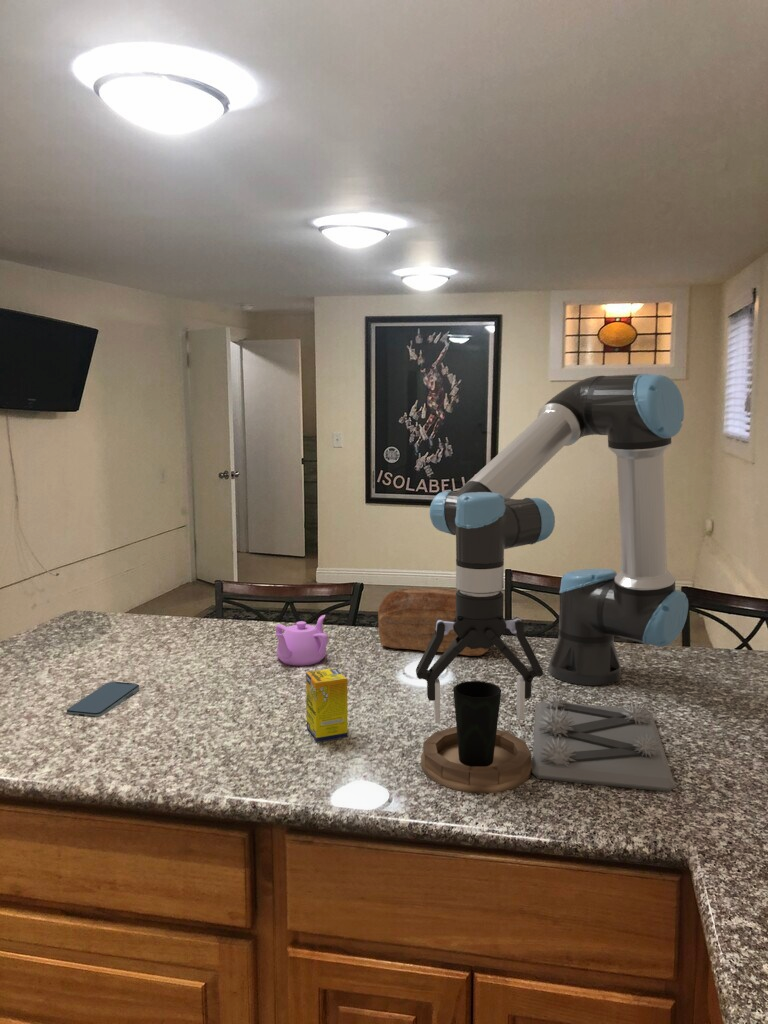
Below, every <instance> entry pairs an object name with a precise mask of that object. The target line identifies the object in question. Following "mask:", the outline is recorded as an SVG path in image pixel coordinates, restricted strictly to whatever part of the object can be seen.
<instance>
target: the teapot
mask: <svg viewBox="0 0 768 1024" xmlns="http://www.w3.org/2000/svg"><path fill="white" fill-rule="evenodd" d="M325 617H326V614H323V615H320V616H319V617H318V620H317V622H316V625H315V626H314V625H313V624H307V622H306V621H303V620H301V621H296V624H293V625H290V626H288V627H287V626H285V625H284V624H281V623H280V624H279V623H277V624H276V625H275V634H274V635H275V636H276V637H277V639H278V641H277V642H278V643H277V647H276V656H277V658H278V659H279V660H280V662H282V663H283V664H285V665H289V666H296V667H298V666H299V667H300V666H302V667H303V666H313V665H315V664H318V663H320V662H321V661H322V660H323V659H324V658H325V656H326V655H327V645H328V641H329V635H328V634H327V633H324V626H323V623H324V619H325ZM283 631H284V632H283Z"/></svg>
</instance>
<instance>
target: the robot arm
mask: <svg viewBox="0 0 768 1024" xmlns="http://www.w3.org/2000/svg"><path fill="white" fill-rule="evenodd" d="M684 416H685V406H684V400H683V396H682V394H681V391H680V389H679V387H678V385H677V384H676V383H675V382H674V381H673V379H671V378H670V377H669V376H666V375H662V374H650V373H636V374H617V375H616V374H615V375H594V376H589V377H587V378H584V379H581V380H579V381H576V382H574V383H573V384H571V385H570V386H568V387H566V388H565V389H563V390H561V391H560V392H559V393H557V394H556V395H554V396H553V397H552V398H551V399H549V400H548V401H547V402H546V403H545V404H544V405H543V406H541V408H539V410H538V413H537V417H536V419H535V420H534V421H532V422H531V423H530V424H529V425H528V426H527V427H526V428H525V429H524V430H522V432H521V433H520V434H518V435H517V436H516V437H515V438H514V439H513V440H512V441H511V442H509V443H508V444H507V445H506V447H504V448H503V449H502V450H501V451H500V452H499V453H497V455H495V457H493V458H492V459H491V460H489V462H488V463H487V464H485V466H484V467H482V468H481V469H480V470H479V471H478V472H477V473H476V474H475V475H474V476H473V477H471V478H470V479H469V480H468V481H467V482H465V484H464V485H463V486H461V487H460V488H459V489H458V490H457V491H454V490H448V491H442V492H439V493H438V494H435V496H434V497H433V500H432V501H431V503H430V507H429V518H430V521H431V523H432V525H433V527H434V528H435V529H436V530H437V531H440V532H442V533H445V534H449V535H452V536H455V553H456V554H455V555H456V556H455V588H456V589H457V590H456V591H457V592H456V617H455V620H454V622H449V621H443V620H442V619H437V620H436V627H435V633H434V635H433V636H432V638H431V640H430V642H429V644H428V646H427V648H426V650H425V651H423V652H424V653H423V654H422V656H421V658H420V660H419V661H418V664H417V666H416V669H415V674H416V677H417V679H419V680H425V681H426V696H427V700H428V701H429V702H430V701H433V717H434V721H435V723H440V722H441V682H440V679H439V677H440V676H441V675H442V674H443V672H444V671H445V670H446V669H447V668H448V666H449V665H450V664H451V663H452V662H453V661H454V659H455V658H456V657H458V655H460V654H459V653H460V652H462V651H463V650H464V648H465V647H466V646H467V647H468V648H470V649H477V648H484V649H489V650H490V649H491V648H492V647H494V646H495V647H496V649H497V650H498V651H499V652H501V653H502V654H503V656H504V657H505V658H506V659H507V661H509V663H510V664H511V665H512V666H513V667H514V668H515V670H517V672H518V673H519V674H520V675H516V715H517V718H518V720H519V721H525V712H526V711H525V709H526V706H525V705H526V704H525V702H526V700H525V699H531V696H532V682H533V681H534V678H537V677H542V676H544V670H543V669H542V667H541V664H540V663H539V661H538V658H537V657H536V655H535V652H534V651H533V649H532V647H531V645H530V642H529V641H528V638H527V637H526V635H525V627H524V622H523V621H522V619H521V618H520V617H518V616H515V617H514V618H513V619H510V620H505V619H504V593H503V591H502V590H503V589H504V587H505V586H504V583H505V582H504V579H505V578H504V577H505V576H504V570H505V569H504V565H505V564H504V563H505V562H504V560H505V550H507V549H512V548H517V547H524V546H527V545H535V544H536V543H539V542H542V541H545V540H547V539H548V538H549V537H550V536H551V535H552V533H553V532H554V529H555V523H556V520H555V519H556V517H555V513H554V510H553V508H552V506H551V505H550V504H549V503H548V502H547V501H546V500H545V499H542V498H539V497H531V498H530V497H524V498H519V499H517V498H516V499H515V498H512V497H513V496H514V495H516V493H518V491H519V490H520V489H522V488H523V487H524V485H525V484H527V483H528V482H529V481H530V480H531V479H532V478H533V477H535V475H536V474H537V473H538V472H539V471H540V470H541V469H542V468H543V467H544V466H545V465H546V464H547V463H549V462H550V460H552V459H553V457H555V456H556V454H558V453H559V452H560V451H561V450H562V449H563V448H564V447H568V446H572V445H574V444H575V443H576V442H577V441H578V440H579V439H581V438H583V437H584V438H585V437H587V436H594V435H595V436H596V435H599V436H607V447H608V449H609V450H610V451H611V452H613V453H614V454H615V456H616V470H617V473H616V474H617V493H618V495H617V496H618V513H619V514H618V515H619V516H618V517H619V519H618V520H619V536H620V539H619V540H620V559H621V561H620V562H621V563H620V564H621V570H620V571H619V572H618V573H617V571H616V570H613V569H609V568H585V569H577V570H576V569H575V570H571V571H567V572H566V573H564V574H563V575H562V576H561V581H560V588H559V592H558V593H559V616H558V618H559V619H558V638H557V640H556V645H555V647H554V648H553V652H552V654H551V657H550V659H549V670H548V671H549V674H551V676H552V677H554V678H555V679H558V680H560V681H563V682H566V683H571V684H575V685H581V686H606V685H607V686H608V685H611V684H615V683H617V682H618V681H619V680H620V679H621V675H622V674H621V673H622V672H621V671H622V667H621V662H620V660H619V657H618V656H619V655H618V652H617V649H616V645H615V642H614V641H615V637H618V638H622V639H626V640H629V641H634V642H638V643H642V644H644V645H648V646H649V645H652V646H656V647H666V646H669V645H672V644H673V642H675V641H676V639H678V637H679V636H680V634H681V632H682V631H683V629H684V627H685V623H686V621H687V618H688V617H687V616H688V612H689V599H688V597H687V595H686V593H684V592H683V591H682V590H679V589H677V590H676V578H675V575H674V574H673V573H671V572H670V571H669V570H668V567H667V536H666V534H667V529H666V526H667V525H666V498H665V496H666V494H665V493H666V492H665V466H664V465H665V464H664V459H665V458H664V453H665V452H666V450H668V448H669V447H671V445H672V438H673V437H675V436H677V435H678V434H679V432H680V431H681V428H682V426H683V423H682V422H683V421H684V418H685V417H684ZM452 629H453V630H454V631H455V633H456V634H457V635H458V636H457V637H456V638H455V639H454V640H453V642H452V644H451V645H450V646H449V647H448V649H447V650H446V651H445V652H442V654H441V655H440V657H438V659H437V660H436V661H435V662H434V664H433V665H432V666H431V664H432V662H433V659H435V658H434V657H435V656H436V654H437V653H438V652H437V650H438V648H439V646H440V644H441V642H442V640H443V637H444V635H447V634H448V633H449V631H450V630H452ZM507 629H508V630H509V631H510V632H511V634H513V635H515V637H516V639H517V641H518V643H519V645H520V647H521V648H522V650H523V653H524V655H525V656H526V658H527V661H528V663H529V664H530V667H527V666H526V665H525V664H524V663H523V662H522V660H520V658H519V657H518V656H517V655H516V654H515V653H514V652H513V650H512V649H511V648H510V647H509V646H508V645H507V643H505V641H504V640H503V639H502V635H503V634H504V633H505V631H506V630H507ZM430 666H431V667H430ZM429 667H430V668H429Z"/></svg>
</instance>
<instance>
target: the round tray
mask: <svg viewBox="0 0 768 1024" xmlns="http://www.w3.org/2000/svg"><path fill="white" fill-rule="evenodd" d="M422 744H423V745H422V746H423V747H422V753H421V756H420V767H421V770H422V772H423V773H424V775H426V777H427V778H429V779H430V780H431V781H433V782H435V783H437V784H439V785H441V786H443V787H445V788H448V789H453V790H456V791H462V792H466V793H467V792H468V793H478V794H479V793H481V794H485V793H486V794H487V793H489V794H490V793H499V792H500V793H501V792H504V791H505V792H506V791H509V790H512V789H515V788H518V787H520V786H522V785H523V784H525V783H526V782H527V781H528V780H529V779H530V778H531V775H532V774H533V773H532V761H533V760H532V752H531V751H530V748H529V747H528V746H529V745H528V744H527V742H526V741H525V740H523V739H522V738H521V737H520V738H519V737H518V736H516V735H514V734H513V733H510V732H509V731H505V730H501V729H497V732H496V741H495V749H494V758H493V763H492V764H491V765H489V766H486V767H471V766H466V765H464V764H462V763H461V762H460V761H459V753H458V740H457V728H456V726H454V727H450V728H445V729H443V730H442V729H441V730H438V731H434V732H433V733H432V734H431V735H430V736H428V738H426V739H425V740H424V741H423V743H422Z"/></svg>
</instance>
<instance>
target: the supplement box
mask: <svg viewBox="0 0 768 1024" xmlns="http://www.w3.org/2000/svg"><path fill="white" fill-rule="evenodd" d="M305 683H306V684H305V688H306V690H305V691H306V695H305V696H306V700H305V701H306V730H307V731H308V732H309V733H310V734H311V736H312V737H313V738H314V740H315V741H316V742H317V743H320V742H324V741H331V740H336V739H341V738H346V737H348V736H349V735H348V678H347V677H345V676H344V675H343V674H342V672H340V670H338V668H336V667H334V668H333V667H332V668H327V669H320V670H314V671H313V670H312V671H307V672H305Z"/></svg>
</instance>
